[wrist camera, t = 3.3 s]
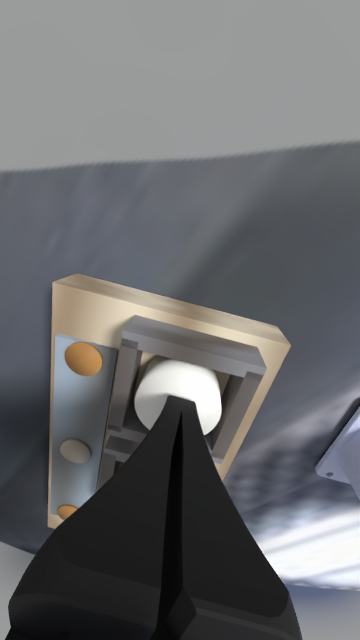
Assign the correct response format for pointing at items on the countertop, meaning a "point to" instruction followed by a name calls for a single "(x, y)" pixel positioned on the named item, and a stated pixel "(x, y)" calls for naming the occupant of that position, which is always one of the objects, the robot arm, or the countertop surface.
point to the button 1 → (178, 390)
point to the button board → (140, 377)
